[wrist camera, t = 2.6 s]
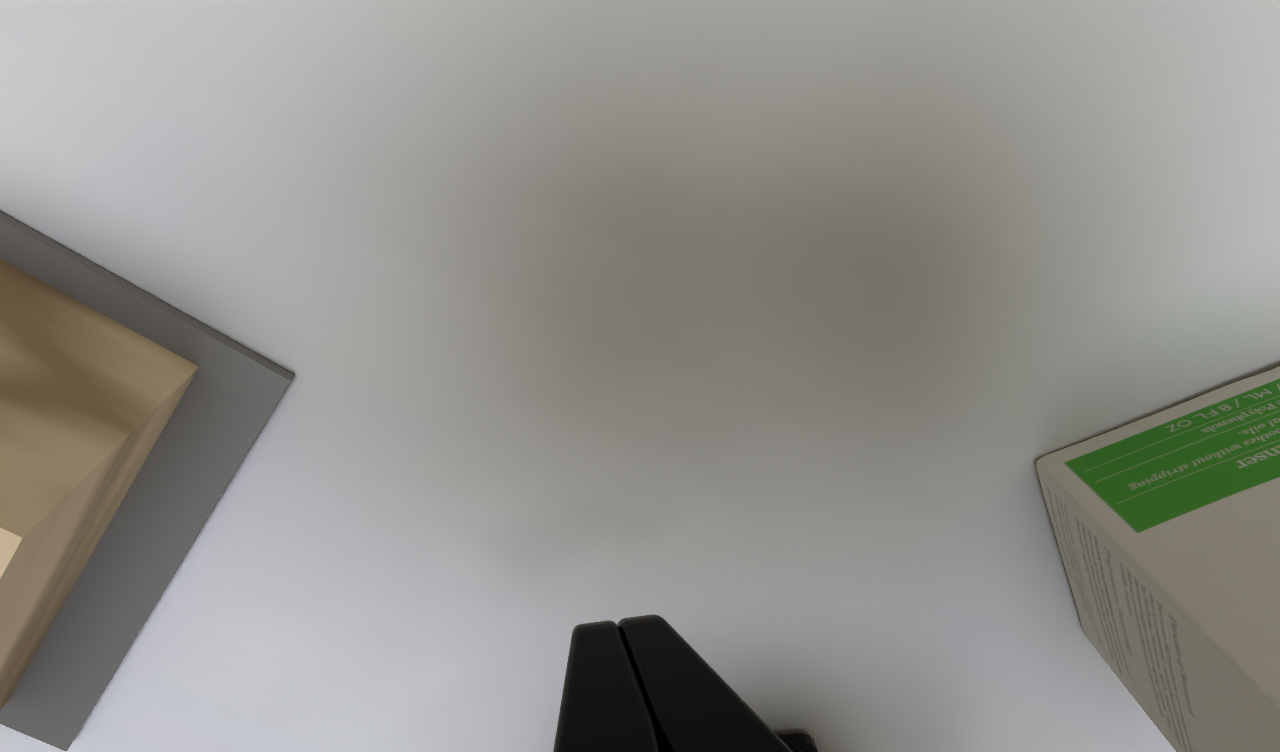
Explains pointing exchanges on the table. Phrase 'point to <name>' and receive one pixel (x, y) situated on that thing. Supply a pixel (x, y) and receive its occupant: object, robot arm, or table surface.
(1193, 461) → the skincare box
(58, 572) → the pine block
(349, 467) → the table surface
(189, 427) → the gray board
